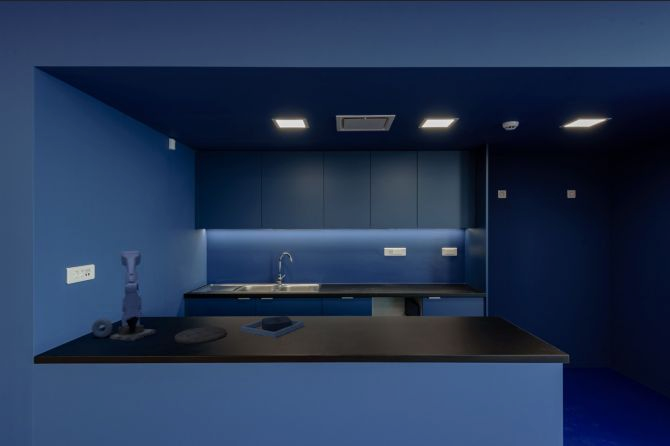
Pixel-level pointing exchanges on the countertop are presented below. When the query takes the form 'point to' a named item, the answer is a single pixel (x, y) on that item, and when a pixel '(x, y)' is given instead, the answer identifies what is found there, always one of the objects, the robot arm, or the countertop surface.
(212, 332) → the trivet
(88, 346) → the countertop surface
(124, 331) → the stool leg
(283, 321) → the streaming box
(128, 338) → the stool seat
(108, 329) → the donut
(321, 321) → the countertop surface
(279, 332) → the tray
